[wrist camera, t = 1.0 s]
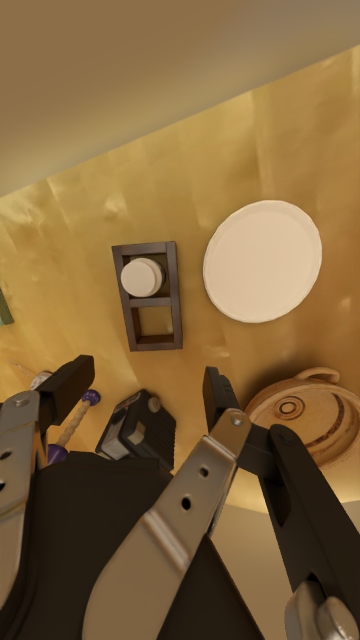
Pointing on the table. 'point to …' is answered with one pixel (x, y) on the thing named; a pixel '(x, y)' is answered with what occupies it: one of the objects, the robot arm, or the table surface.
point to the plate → (262, 261)
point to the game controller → (38, 378)
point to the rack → (150, 297)
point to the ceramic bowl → (312, 414)
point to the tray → (4, 312)
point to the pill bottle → (143, 277)
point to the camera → (139, 431)
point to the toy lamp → (71, 428)
